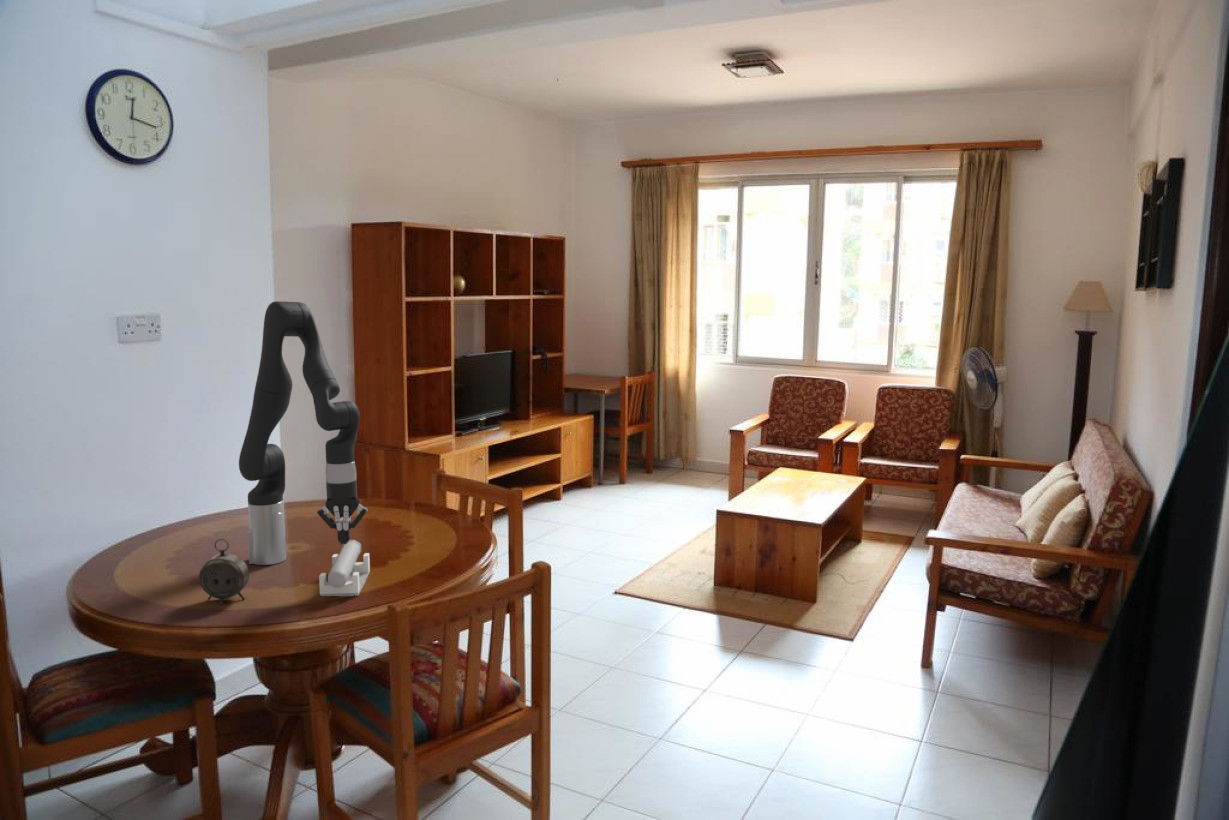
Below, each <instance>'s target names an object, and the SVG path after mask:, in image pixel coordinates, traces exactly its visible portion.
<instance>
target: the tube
mask: <svg viewBox="0 0 1229 820" xmlns="http://www.w3.org/2000/svg"><path fill="white" fill-rule="evenodd" d="M361 553H362V544H361V543H360V542H359V541H357V540H355V539H350V540H349V542H348V543H347V544H342V545H341V550H340V552H339V553H338V557H337V559H336V561H335V563H334V565H333V567H331V569H330V571H329V573H328V575H327V582H328V584H330V585H331V586H333V587H335V588H336V587H343V586H344V585H345V583H346V582H347V580H348V578H349V576H350V573H351V571H352V569H353V567H354V564H355V562H357V560H358V558H359V555H360V554H361Z"/></svg>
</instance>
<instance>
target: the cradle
mask: <svg viewBox="0 0 1229 820" xmlns="http://www.w3.org/2000/svg"><path fill="white" fill-rule="evenodd" d="M338 555H339V553H333V555H332V556H331V563H332V564H331V565H332V567H333V565H334V563H335V561H336V559H337V557H338ZM362 557H363V558H362V559H363V561H356V562H355V564H354V567H353V569H352V571H351V573H350V576H349V578H348V580H347V582H346V583H345V585H344V586H343V587H336V588H335V587H333V586H331V585H330V584H328V581H327V572H320V575H318V582H319V597H320V596H339V597H358V596H359V595H360V593H361V591H362V590H363V587H364V585H365V584H366V582H367V580H368V578H367V577H369V576H370V574H369V573H371V563H370V561H371V560H370V552H364V553H363V556H362ZM332 567H331V568H332ZM368 575H369V576H368ZM366 579H367V580H366ZM340 595H341V596H340ZM347 595H348V596H347ZM354 595H355V596H354Z"/></svg>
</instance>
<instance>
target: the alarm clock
mask: <svg viewBox="0 0 1229 820" xmlns="http://www.w3.org/2000/svg"><path fill="white" fill-rule="evenodd" d="M219 541H224V542H225V543H226V544H227V547H226V549H223V548H222V549H218V547H217V543H218V542H219ZM229 543H230V542H229V541H228V540H227V539H226V538H218V539H217V540H216V541H215V543H214V548H215V550H216V551H218V552H219V553H216V554H215V555H213V556H211V557H210V558H209V559H208V560H206V562H205V563H204V564H203V565H202V566H201V568H200V570H199V574H198V580H199V584H200V586H201V588H202V590H203V591H204V592H205V593H206V594H207V595H208V597H207V600H208V601H209V600H211V598H215V599H218V600H219V604H220V605H223V601H224V600H228V599H231V598H234V597H235V596H237V595H238V596H239V597H240V598H241V600H243V601H245V599H246V597H244V595H243V594H242V593H241V592H242V591H243V589H245V587H246V586H247V584H248V582H249V579H250V570H249V567H248V565H247V563H246V562H245V561H244V560H243V559H242V558H241V557H240V556H238V555H237V554H235V553H231V552H226V551H228V549H229V546H230V544H229Z"/></svg>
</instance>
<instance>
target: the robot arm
mask: <svg viewBox="0 0 1229 820" xmlns="http://www.w3.org/2000/svg"><path fill="white" fill-rule="evenodd" d="M264 314H265V315H264V319H263V328H262V329H263V331H262V343H261V353H260V361H259V367H258V372H257V376H256V377H257V378H256V382H255V385H254V393H253V399H252V406H251V410H250V414H249V415H250V416H249V420H248V425H247V429H246V433H245V436H244V439H243V443H242V446H241V449H240V452H239V458H238V469H239V472H240V474H241V476H242V477H243V478H244V480H246V481H249V482H253V481H255V482H256V481H258V482H257V484H256V485H255V486H254V487H253V488H252V489H251V490H249V492H248V493H247V509H248V510H247V511H248V524H249V525H248V526H249V529H248V530H247V534H246V536H247V546H248V547H247V548H248V561H249V562H248V563H249V565H251V564H252V565H253V564H254V565H256V566H257V565H258V566H268V565H269V566H270V565H275V564H280V563H281V562H284V561H286V560H287V545H286V526H285V511H284V507H285V506H284V493H285V489H286V459H285V455H284V452H283V451H282V449H281V448H280V446H278V445H277V444H275V443H269V440H270V437H271V434H272V433H273V431H274V430H275V428H276V426H278V424H279V422H281V420H282V418H283V417H284V416H285V415H286V412H287V410H288V408H289V405H290V402H291V401H290V400H291V395H292V391H293V379H292V377H291V373H290V371H289V370H288V368H287V366H286V363H285V361H284V358H283V342H284V339H285V337H298V338H299V340H300V341H301V343H302V344H303V347H304V357H303V362H302V376H303V379H304V381H305V383H306V385H307V387H308V389H309V391H310V394H311V396H312V399H313V405H314V410H315V411H314V412H315V418H316V423H317V424H318V425H319V427H320V428H321V429H322V430H324V431H326V432H331V431H332V432H333V431H339V432H338V433H337V435H336V436H334V437H332V438H330V439H328V440H326V442H325V447H324V448H325V449H324V450H325V463H326V464H325V485H326V488H325V489H326V501H325V503H324V506H323V507H320V508H319V509H318V510H317V512H316V513H317V515H318V516H319V517H320V518H321V519H322V520H323V522H324V523H325V524H326V525H327V526H328V527H329V528H330V529H332V530H333V529H335V530H336V531H337V541H338V543H340V545H343V544H347V543H348V542H349V540H351V532H350V531H351V530H350V529H354V528H355V527H356V526H357V525H358V524H359V523H360V521H361V520H362V519H363V517H364V516H365V515H366V513H368V510H369V509H368V507H367V506H363V505H362V504H361V503H360V500H359V497H358V486H357V476H358V475H357V466H356V462H355V460H356V459H355V443H356V438H357V435H358V430H359V429H358V428H359V426H360V418H361V417H360V416H361V415H360V414H361V413H360V411H359V408H358V405H356V403H355V402H353V401H351V400H343V401H336V402H331V400H333V399H335V398H336V397H338V395H339V394H340V391H341V389H340V385H339V383H338V381H337V378H336V377H335V374H334V373H333V370H332V369H331V367H330V364H329V363H328V360H327V357H326V354H325V351H324V347H323V345H322V340H321V337H320V334H319V331H318V328H317V327H318V326H317V324H316V320H315V317H314V315H313V313H312V310H311V308H310V307H309V306H308V305H307V303H304V302H299V301H279V300H278V301H273V302H271V303H269V304H268V305H267V307H266V311H265V313H264ZM356 510H357V516H356V517H355V519H354V520H353V521H352V522H351V519H352V516H353V514H354V513H355V511H356ZM329 512H330V513H331V515H332V516H333V517H334V518H332V516H331V515H330V514H329Z"/></svg>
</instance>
